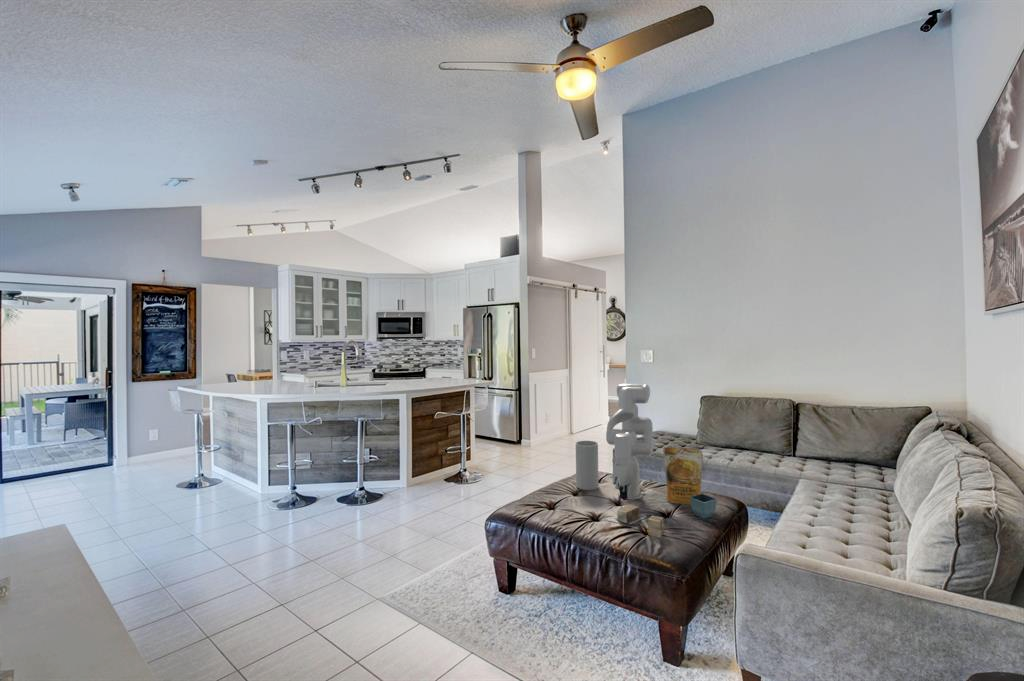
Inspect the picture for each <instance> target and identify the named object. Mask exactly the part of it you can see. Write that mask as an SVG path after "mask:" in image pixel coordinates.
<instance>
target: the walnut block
mask: <svg viewBox="0 0 1024 681" xmlns="http://www.w3.org/2000/svg"><path fill="white" fill-rule="evenodd" d="M616 511H617V515H616V516H617V517H616V518H617V519H618V520H617V519H616V520H617V521H620V522H622V523H625V524H627V523H628V522H630V521H632V520H634V519H636V518H639V514H640V506H638V505H634V504H633V503H632V504H631V503H629V504H627V505H625V506H622V507H620V508H617V510H616Z"/></svg>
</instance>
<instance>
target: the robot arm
mask: <svg viewBox="0 0 1024 681" xmlns="http://www.w3.org/2000/svg"><path fill="white" fill-rule="evenodd" d="M616 395H617V397H618V404H617V406H618V407H617V411H616V412H615V413H614V414H613V415H612V416H611V417H610V418H609V420H608V422H607V424H606V425H607V426H606V431H605V432H606V434H605V439H606V442H607V444H608V445H611V446H614V464H613V468H612V484H613V485H615V486H614V489H616V490H618V493H617V495H618V497H619V498H620V499H621V500H624V501H625V500H629V501H630V500H631V501H634V500H635V501H636V500H640V499H642V497H643V493H642V492H641V490H644V489H645V486H644V485H640V464H639V461H638V459H637V458H636V456H637V457H650V456H652V454H653V450H654V445H653V444H654V443H653V442H654V439H653V438H654V436H653V433H654V432H653V430H654V429H653V422H652V419H651V418H649V417H646V416H645V417H644V416H639V408H638V407H639V406H638V405H637V404H647V403H648V402H649V399H650V396H651V390H650V386H649V384H646V383H620V384H618V385H617V386H616ZM620 423H621V429H620V428H619V429H617V428H614V427H615V426H616V425H618V424H620ZM638 436H643V437H638Z"/></svg>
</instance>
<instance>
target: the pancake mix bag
mask: <svg viewBox="0 0 1024 681" xmlns="http://www.w3.org/2000/svg"><path fill="white" fill-rule="evenodd" d="M662 450H663V461H664V472H665V477H666V479H665V481H666V488H667V489H666V490H667V491H666V492H667V493H666V502H669V503H671V504H677V505H685V506H686V505H687V506H691V501H690V497H691V496H695V495H699V494H701V490H702V480H703V479H702V478H703V457H704V456H703V450H700V448H690V447H689V448H688V447H687V448H686V447H671V446H670V447H669V446H667V447H663V449H662Z"/></svg>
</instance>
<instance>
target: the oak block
mask: <svg viewBox="0 0 1024 681" xmlns="http://www.w3.org/2000/svg"><path fill="white" fill-rule="evenodd" d="M647 527H648V531H647V532H648V533H647V534H648V536H651V537H656V538H661V537H662V536H664V517H661V516H656V515H651V516H650V517H649V518H648V519H647Z"/></svg>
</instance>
